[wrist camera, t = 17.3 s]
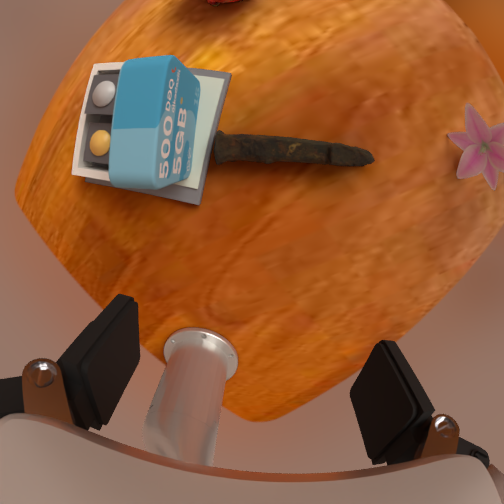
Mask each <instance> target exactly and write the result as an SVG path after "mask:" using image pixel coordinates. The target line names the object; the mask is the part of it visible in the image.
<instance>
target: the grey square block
mask: <svg viewBox="0 0 504 504" xmlns="http://www.w3.org/2000/svg"><path fill="white" fill-rule="evenodd" d="M118 77H119V74H105V75H94V77H93V80H92V84H91V87H90V91H89V95H88V99H87V103H86V108H85V112H84V114H91V115H101V116H113V109H114V102H115V95H116V89H117V83H118Z"/></svg>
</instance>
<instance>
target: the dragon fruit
mask: <svg viewBox="0 0 504 504" xmlns="http://www.w3.org/2000/svg"><path fill="white" fill-rule="evenodd" d="M206 1H208V3H209V4H210V5H213V6H218V5H219V4H220V3H226V2H236V1H239V2H240V1H243V0H206Z"/></svg>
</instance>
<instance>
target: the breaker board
mask: <svg viewBox="0 0 504 504" xmlns="http://www.w3.org/2000/svg"><path fill="white" fill-rule="evenodd" d="M123 63H124V62H114V63H99V64H94V66H93V69H92V72H91V75H90V79H89V83H88V86H87V90H86V94H85V98H84V102H83V106H82V111H81V116H80V121H79V126H78V131H77V137H76V143H75V150H74V158H73V166H72V175H78V176H84V177H86V178H85V182H89V183H94V184H100V185H105V186H110V187H114V186H113V185H112V184H111V182H110V179H109V174H108V168H109V164H103V163H96V162H89V161H83V158H84V151H85V145H86V139H87V133H88V127H89V122H96V123H112V117H113V116H101V115H91V114H84V112H85V108H86V103H87V99H88V95H89V91H90V87H91V84H92V80H93V77H94V75H105V74H119V72H120V69H121V67H122V65H123ZM187 69H188V70H189V71H190V72H191V73H192V74H193V75H194V76H195V77H196V78H197V79H198V80H199V82H200V99H199V106H198V114H197V122H196V130H195V139H194V148H193V158H192V168H191V172H190V175H189V177H188V178H187V179H185V180H182V181H179V182H177V183H174V184H171V185H169V186H166V187H164V188H161V189H158V190H153V189H138V188H121V189H126V190H131V191H136V192H141V193H145V194H150V195H155V196H160V197H164V198H169V199H174V200H178V201H183V202H187V203H192V204H196V205H200V204H201V199H202V194H203V190H204V185H205V180H206V175H207V171H208V166H209V162H210V158H211V153H212V149H213V145H214V140H215V136H216V132H217V128H218V124H219V120H220V116H221V113H222V109H223V105H224V101H225V98H226V94H227V90H228V87H229V83H230V80H231V76H232V75H231V73H226V72H220V71H213V70H205V69H196V68H187ZM116 188H120V187H116Z"/></svg>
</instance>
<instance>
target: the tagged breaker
mask: <svg viewBox="0 0 504 504" xmlns="http://www.w3.org/2000/svg"><path fill="white" fill-rule="evenodd" d="M111 127H112V123H96V122H89V127H88V133H87V139H86V145H85V151H84V158H83V161H89V162H96V163H103V164H109V150H110V137H111Z"/></svg>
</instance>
